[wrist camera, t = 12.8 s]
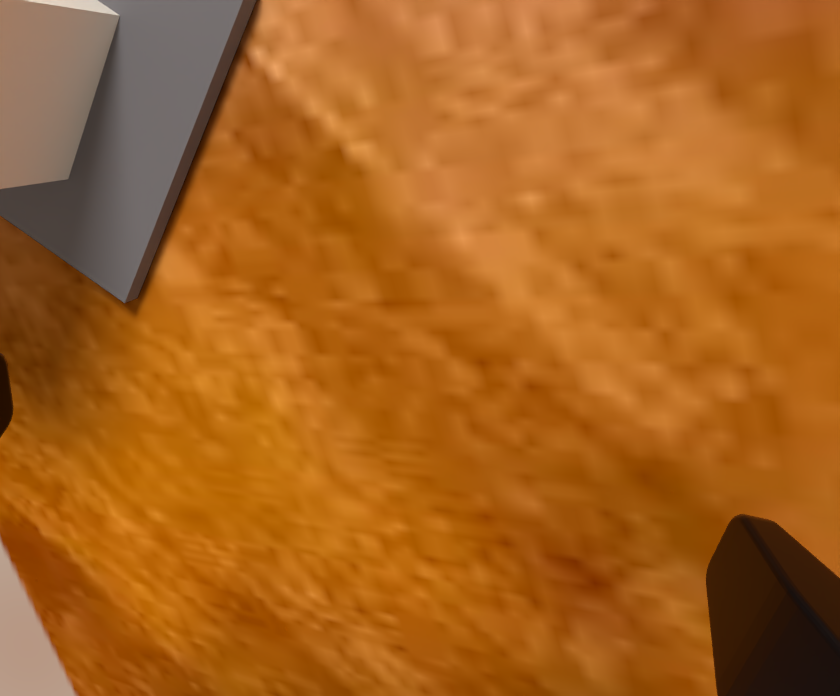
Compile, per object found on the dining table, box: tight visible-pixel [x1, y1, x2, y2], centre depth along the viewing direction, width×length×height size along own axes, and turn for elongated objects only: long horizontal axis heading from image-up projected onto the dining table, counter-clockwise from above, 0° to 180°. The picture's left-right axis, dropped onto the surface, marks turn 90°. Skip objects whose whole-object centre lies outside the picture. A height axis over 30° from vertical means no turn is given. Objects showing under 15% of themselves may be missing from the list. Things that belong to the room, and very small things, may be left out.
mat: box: [0, 0, 256, 303], centre depth 20 cm, size 11×10×1 cm
